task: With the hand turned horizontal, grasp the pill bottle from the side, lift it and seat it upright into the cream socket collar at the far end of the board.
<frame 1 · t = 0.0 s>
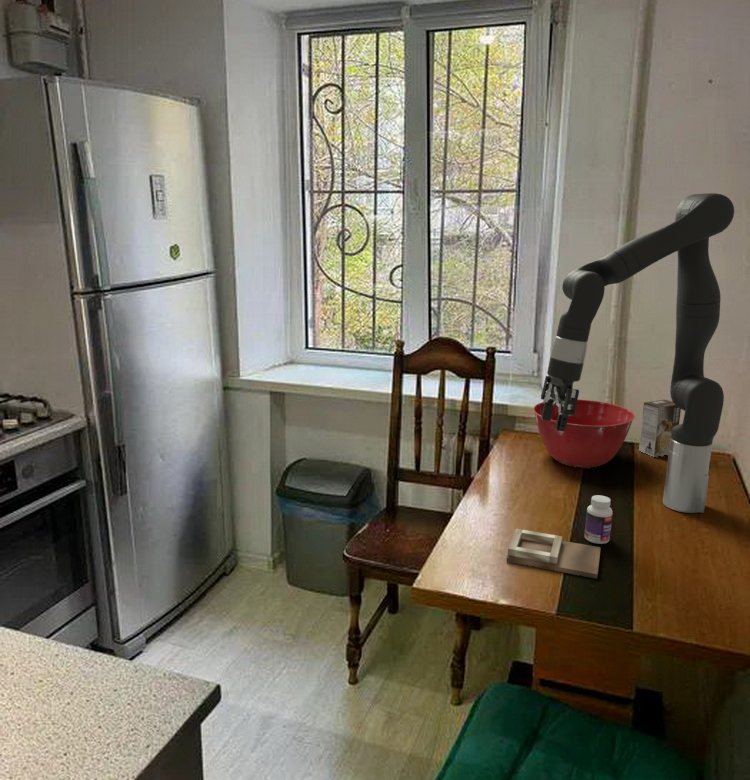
hand: (552, 425, 156), 22 cm above the table, tool pointing down, fingers open, 8 cm apart
socket board: (554, 556, 140), on the table
pill bottle: (596, 539, 148), on the table
mixing bowl: (578, 460, 197), on the table
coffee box: (656, 453, 204), on the table
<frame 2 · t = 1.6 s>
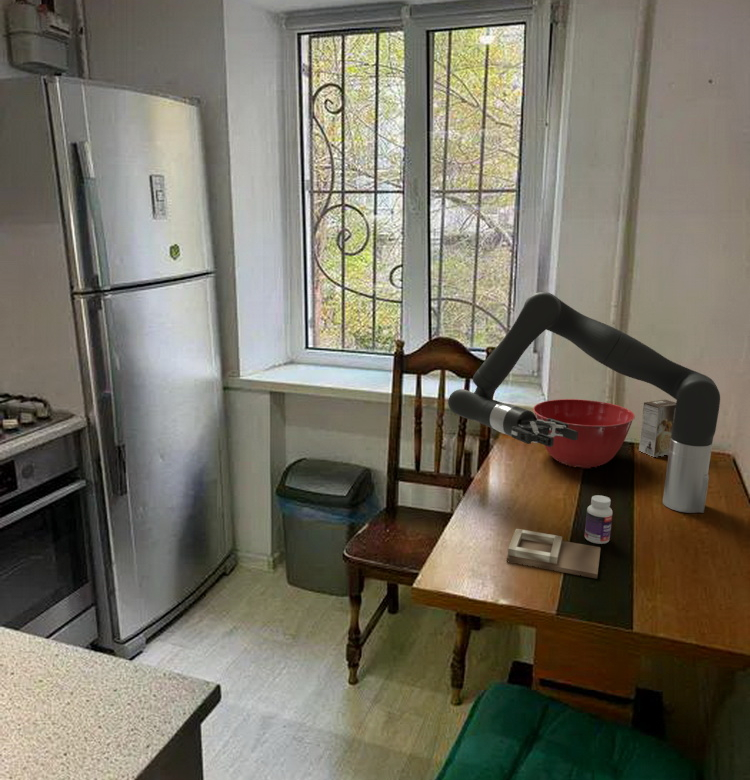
hand: (564, 439, 152), 20 cm above the table, tool horizontal, fingers open, 8 cm apart
nothing on the table moved.
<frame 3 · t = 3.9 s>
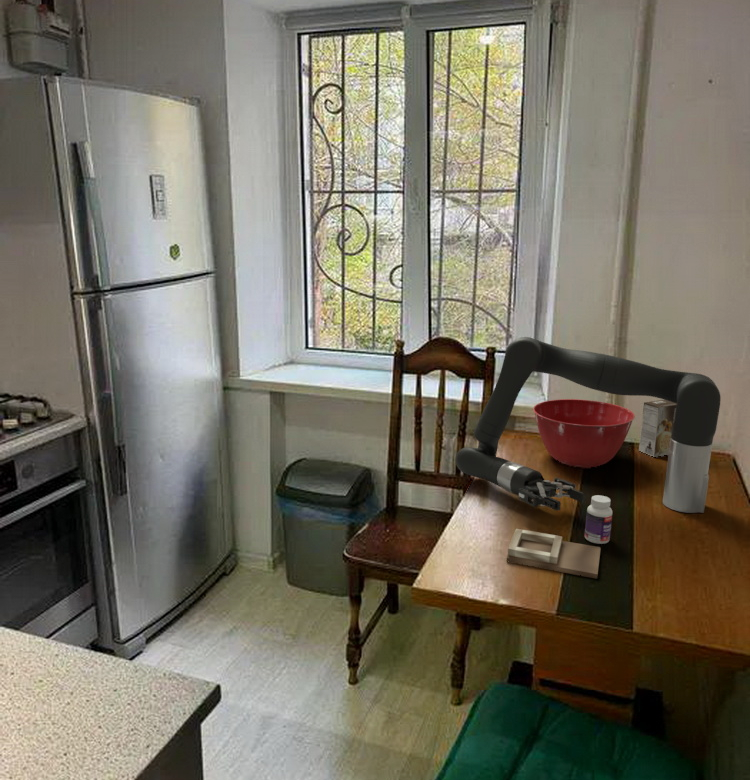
hand: (571, 502, 153), 6 cm above the table, tool horizontal, fingers open, 8 cm apart
nothing on the table moved.
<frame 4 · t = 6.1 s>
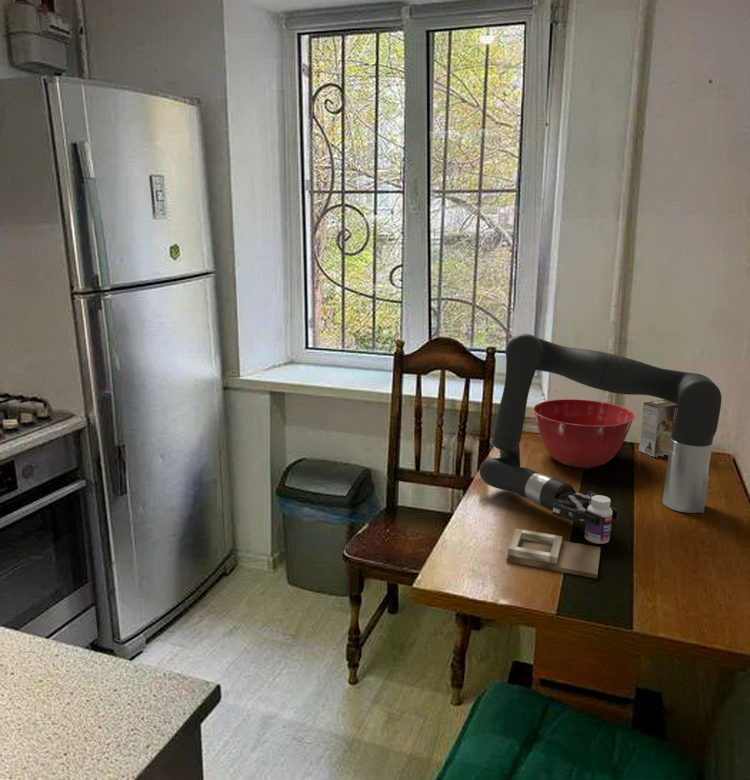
hand: (609, 518, 145), 6 cm above the table, tool horizontal, fingers closed on pill bottle, 5 cm apart
pill bottle: (596, 539, 148), on the table, touching gripper
everything else where it was.
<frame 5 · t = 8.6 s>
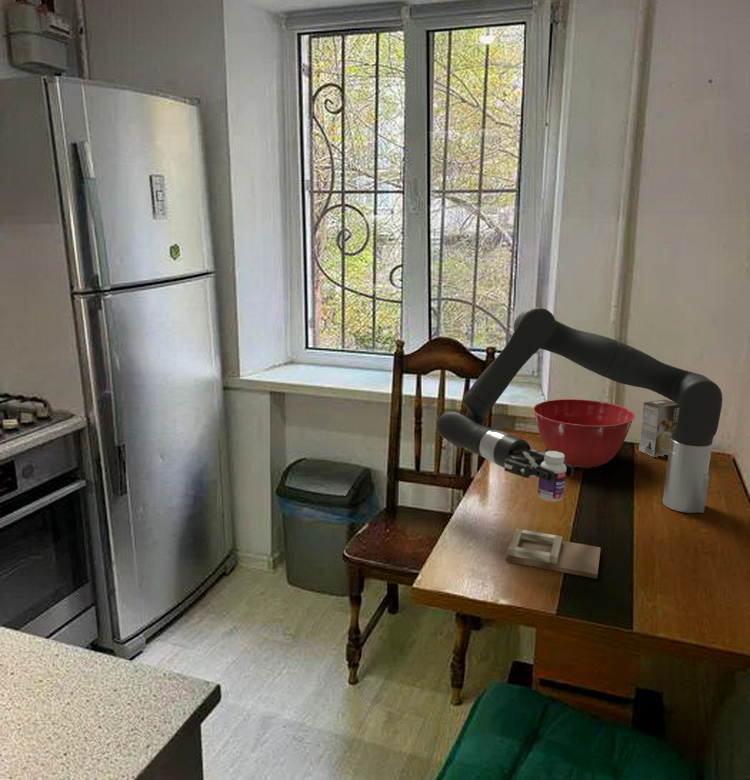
hand: (562, 474, 137), 18 cm above the table, tool horizontal, fingers closed on pill bottle, 5 cm apart
pill bottle: (550, 497, 141), point 12 cm above the table, touching gripper
everything else where it was.
when the fingers open (9 cm above the table, at t = 11.1 s): pill bottle drops 1 cm, resting on socket board.
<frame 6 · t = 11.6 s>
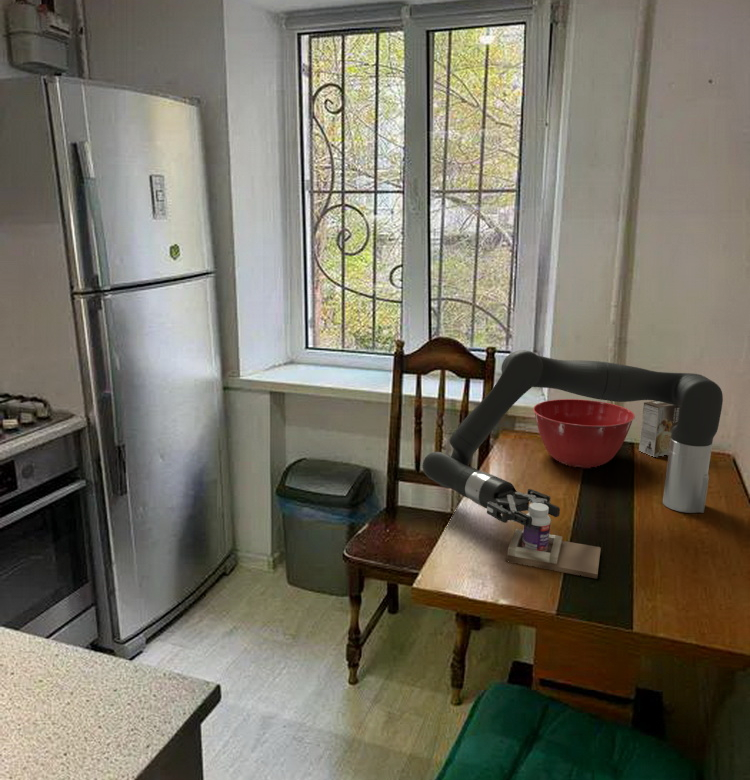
hand: (544, 517, 138), 9 cm above the table, tool horizontal, fingers open, 8 cm apart
pill bottle: (534, 548, 142), point 1 cm above the table, touching socket board
everything else where it was.
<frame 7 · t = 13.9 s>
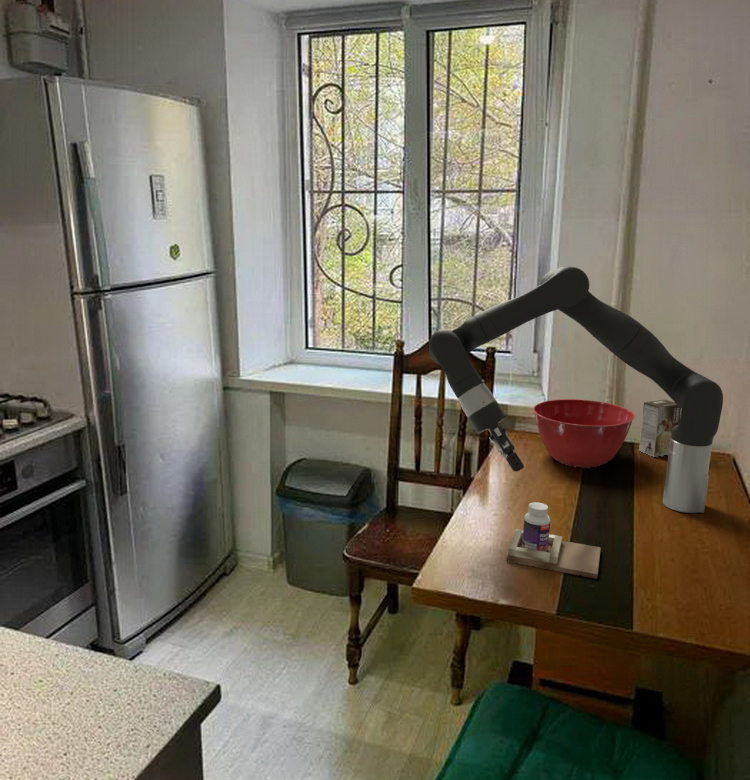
hand: (519, 469, 148), 15 cm above the table, tool tilted 40°, fingers open, 8 cm apart
nothing on the table moved.
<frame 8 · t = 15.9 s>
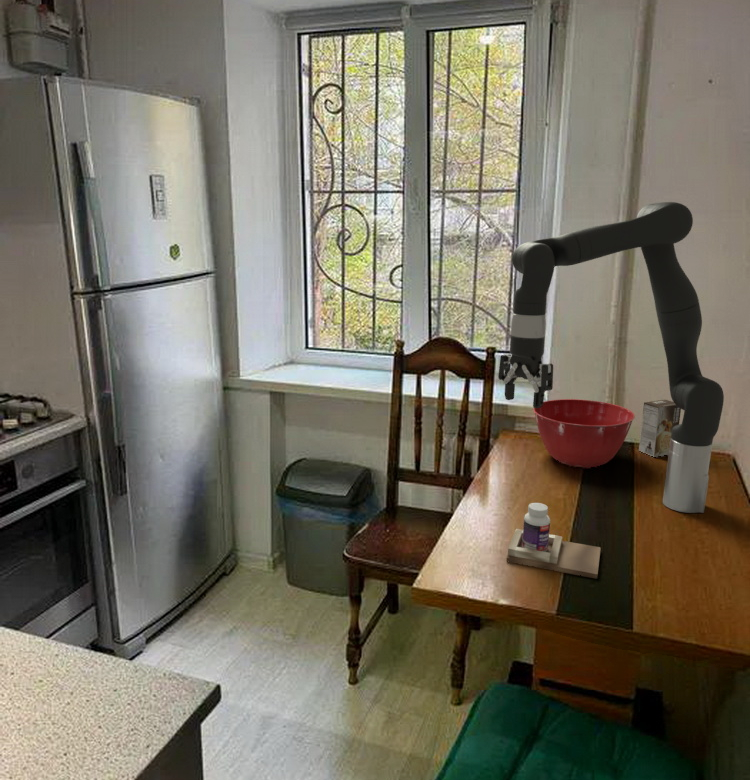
hand: (523, 403, 152), 28 cm above the table, tool pointing down, fingers open, 8 cm apart
nothing on the table moved.
at the end: pill bottle 0.2 cm from the target spot on the socket board, point 0.8 cm above the socket board's base; pill bottle tilted 1°; the gripper is holding nothing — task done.
